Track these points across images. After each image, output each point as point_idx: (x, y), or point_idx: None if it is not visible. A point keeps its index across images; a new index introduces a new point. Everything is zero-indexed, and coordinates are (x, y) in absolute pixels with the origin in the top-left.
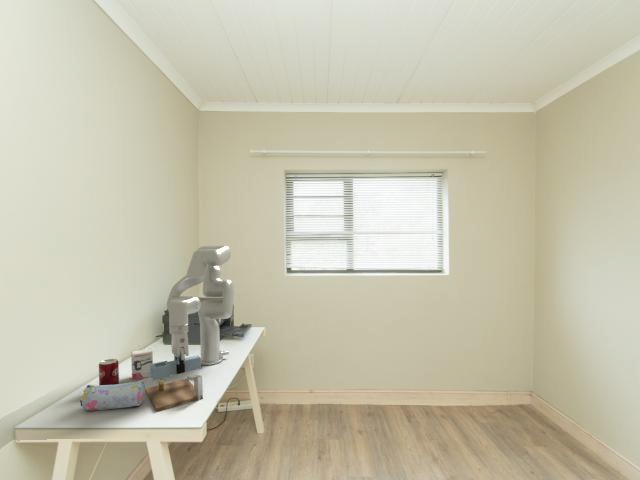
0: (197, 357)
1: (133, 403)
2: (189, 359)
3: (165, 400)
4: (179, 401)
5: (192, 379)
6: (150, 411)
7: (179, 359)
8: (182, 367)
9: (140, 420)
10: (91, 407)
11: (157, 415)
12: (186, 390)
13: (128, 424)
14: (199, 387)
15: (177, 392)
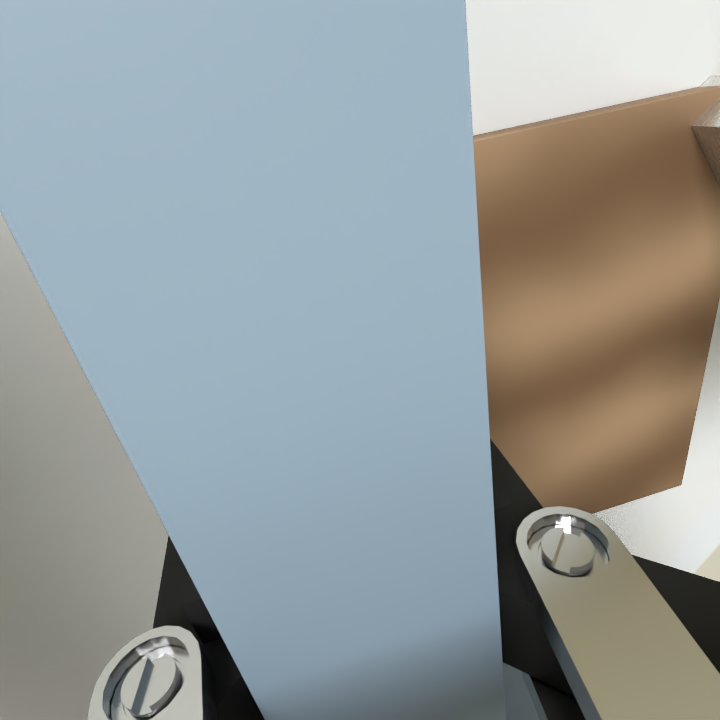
0: None
1: None
2: (476, 420)
3: (595, 444)
4: (702, 333)
5: None
6: (628, 502)
7: (276, 714)
8: (508, 480)
9: (699, 529)
10: None
11: (716, 455)
12: (496, 264)
13: (694, 571)
14: None
15: (489, 359)
